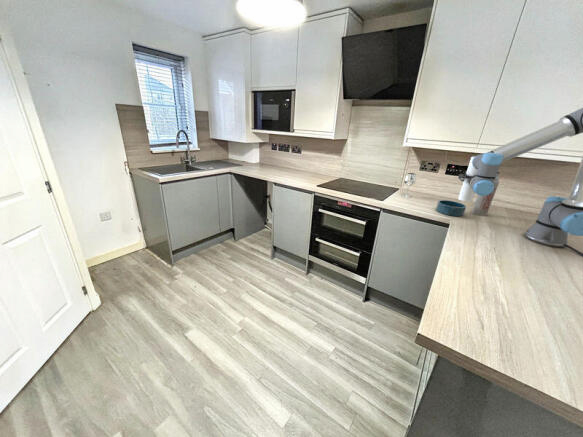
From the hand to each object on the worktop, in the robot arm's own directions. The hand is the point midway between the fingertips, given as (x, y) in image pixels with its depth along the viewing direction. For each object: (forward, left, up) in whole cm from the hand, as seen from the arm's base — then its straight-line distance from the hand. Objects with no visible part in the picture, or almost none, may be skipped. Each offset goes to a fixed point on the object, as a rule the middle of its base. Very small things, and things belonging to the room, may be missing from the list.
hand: (471, 175), depth 141 cm
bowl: (+6, +2, -26) cm, 27 cm away
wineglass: (+42, +13, -26) cm, 51 cm away
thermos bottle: (+5, -18, -26) cm, 32 cm away
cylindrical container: (-4, +2, -14) cm, 15 cm away
